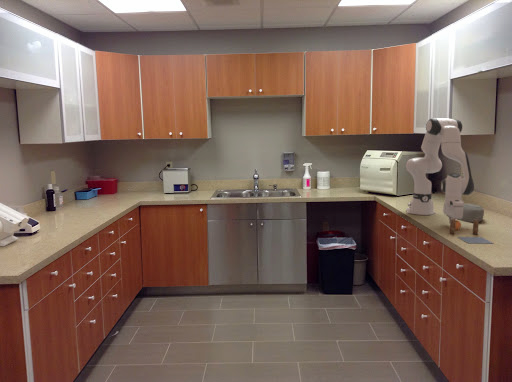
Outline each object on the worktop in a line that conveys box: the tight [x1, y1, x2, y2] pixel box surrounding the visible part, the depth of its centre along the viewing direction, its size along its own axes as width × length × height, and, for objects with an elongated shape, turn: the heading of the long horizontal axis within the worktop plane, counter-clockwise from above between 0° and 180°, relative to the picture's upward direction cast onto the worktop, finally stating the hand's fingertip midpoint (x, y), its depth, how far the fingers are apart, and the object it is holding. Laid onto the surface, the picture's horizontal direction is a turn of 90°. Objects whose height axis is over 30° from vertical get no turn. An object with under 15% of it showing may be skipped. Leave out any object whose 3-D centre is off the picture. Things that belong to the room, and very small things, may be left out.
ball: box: [455, 219, 462, 231], centre depth 257 cm, size 6×6×6 cm
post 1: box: [449, 219, 457, 236], centre depth 246 cm, size 3×3×8 cm
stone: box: [459, 202, 485, 223], centre depth 287 cm, size 28×10×20 cm
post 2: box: [472, 220, 480, 236], centre depth 245 cm, size 3×3×8 cm
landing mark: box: [457, 236, 494, 245], centre depth 232 cm, size 13×13×1 cm
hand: (451, 224), depth 263 cm, fingers closed
